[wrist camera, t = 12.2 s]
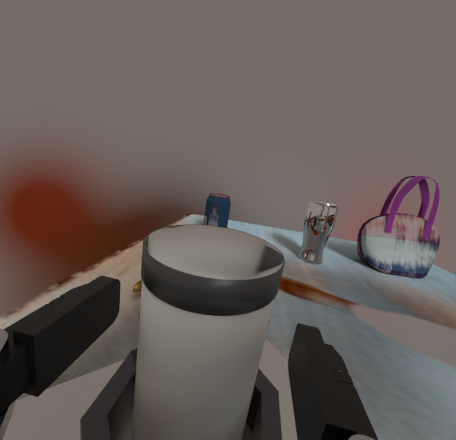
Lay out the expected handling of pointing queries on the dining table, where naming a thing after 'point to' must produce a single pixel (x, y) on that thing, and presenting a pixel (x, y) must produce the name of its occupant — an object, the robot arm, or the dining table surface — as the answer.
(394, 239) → the handbag
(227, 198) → the soda can
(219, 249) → the canister
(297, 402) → the robot arm
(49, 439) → the slab with octagonal socket
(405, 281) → the dining table surface
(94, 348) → the dining table surface
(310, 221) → the beer glass
